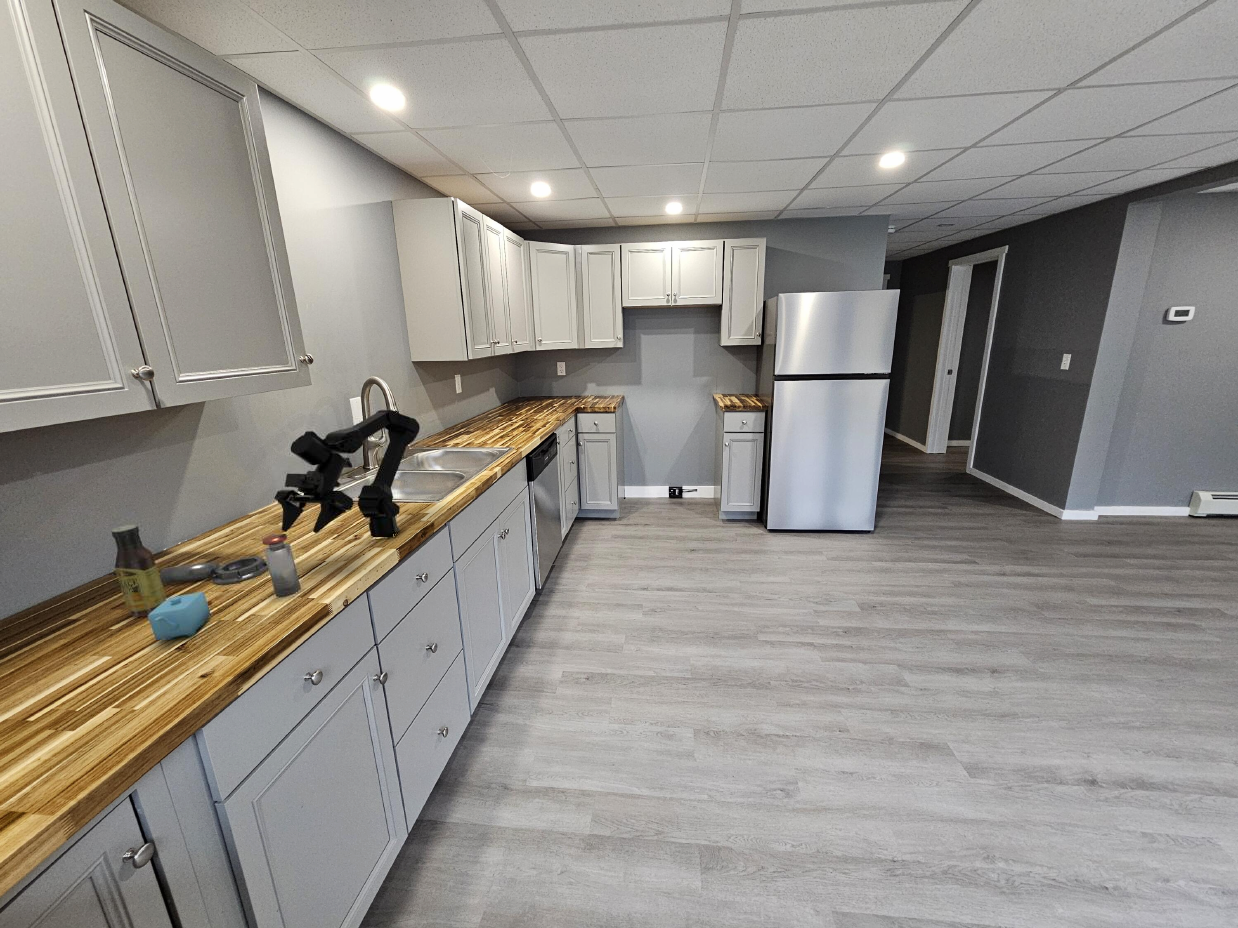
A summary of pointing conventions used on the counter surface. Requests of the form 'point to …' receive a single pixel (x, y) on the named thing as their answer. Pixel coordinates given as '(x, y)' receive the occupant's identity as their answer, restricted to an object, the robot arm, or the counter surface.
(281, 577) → the jar with red lid
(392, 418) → the robot arm
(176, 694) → the counter surface
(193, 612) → the teapot
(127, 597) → the sauce bottle
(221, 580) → the dark grey handled piece
